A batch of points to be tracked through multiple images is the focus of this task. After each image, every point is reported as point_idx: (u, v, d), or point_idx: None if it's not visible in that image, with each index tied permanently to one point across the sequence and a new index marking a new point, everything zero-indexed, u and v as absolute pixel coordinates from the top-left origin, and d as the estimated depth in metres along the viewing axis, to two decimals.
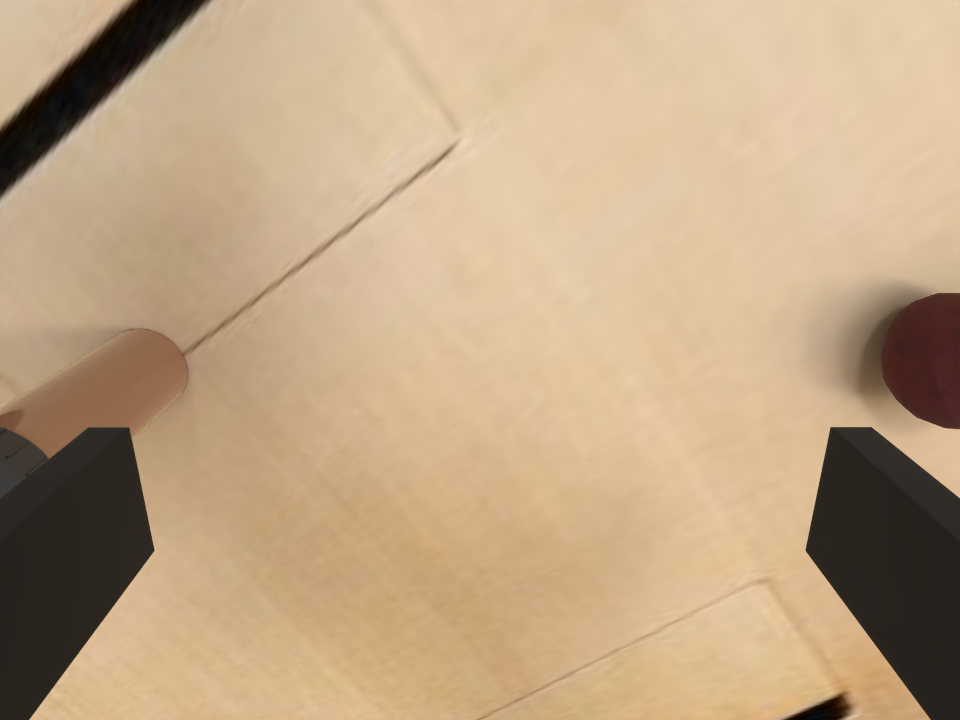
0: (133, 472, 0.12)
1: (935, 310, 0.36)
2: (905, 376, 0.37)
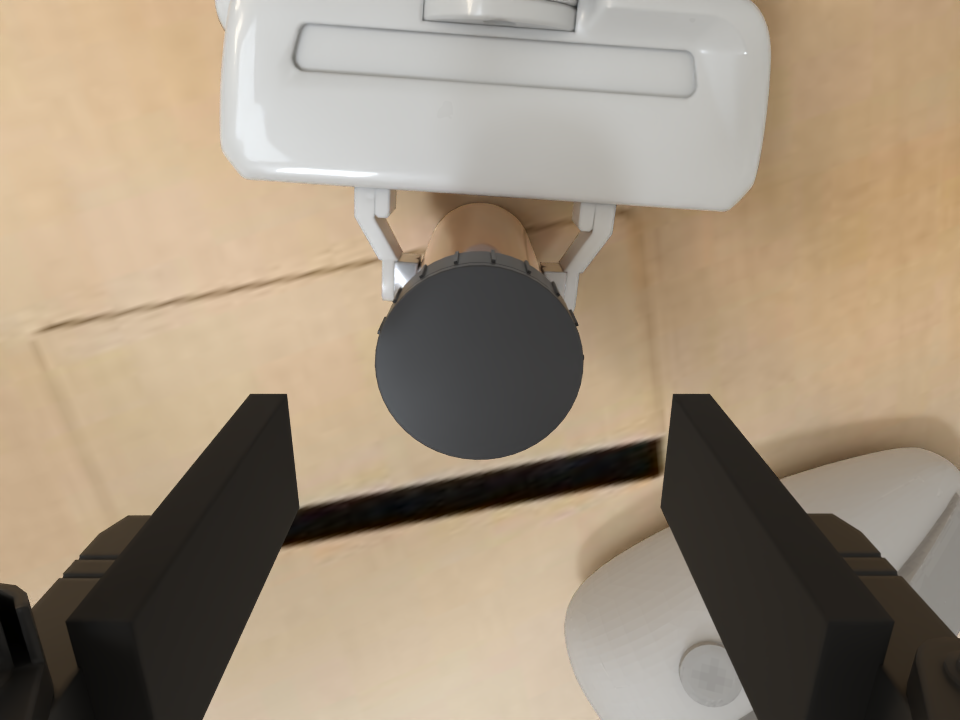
0: (288, 434, 0.14)
1: None
2: None
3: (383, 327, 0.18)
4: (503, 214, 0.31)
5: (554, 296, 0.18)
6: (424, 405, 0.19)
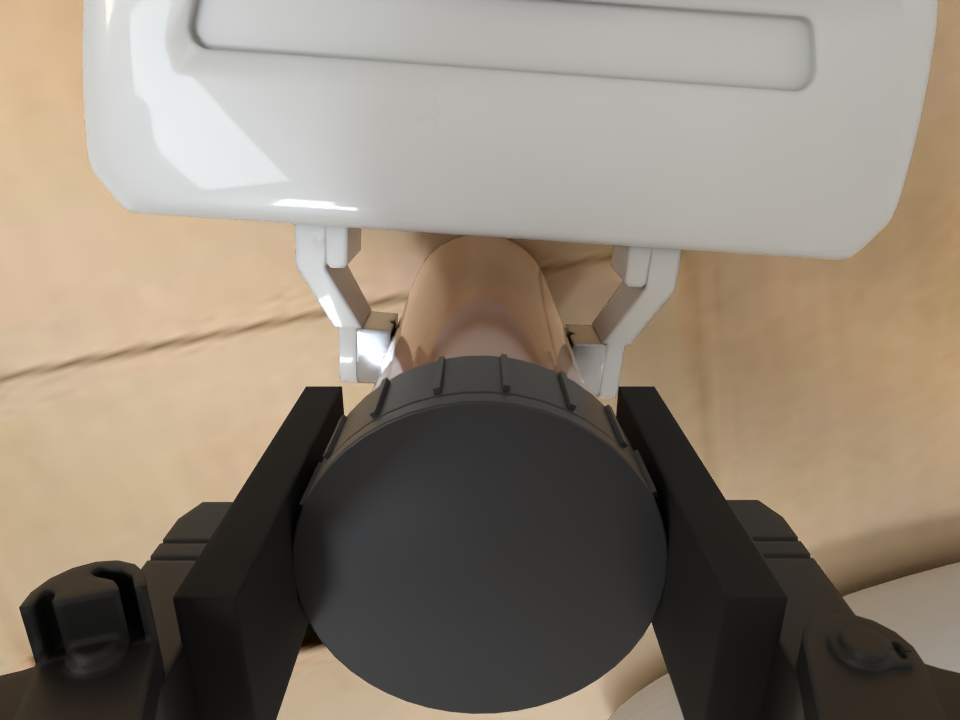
0: None
1: None
2: None
3: (304, 507, 0.10)
4: (512, 253, 0.22)
5: (620, 455, 0.10)
6: (383, 632, 0.11)
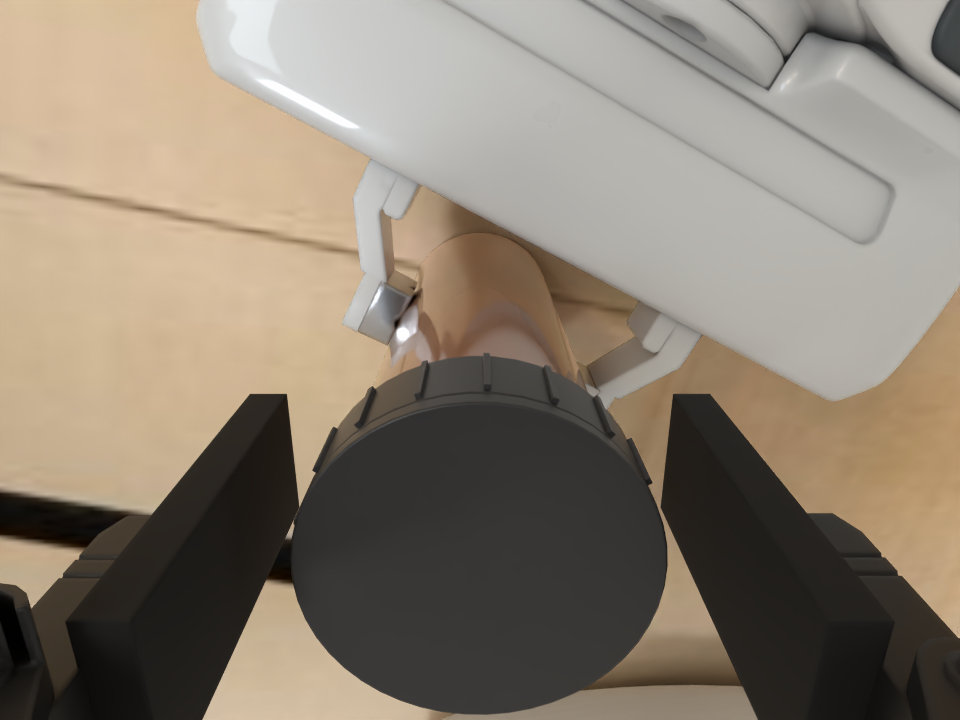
0: (288, 434, 0.14)
1: None
2: None
3: (347, 667, 0.11)
4: (536, 270, 0.23)
5: (406, 415, 0.09)
6: (502, 670, 0.11)
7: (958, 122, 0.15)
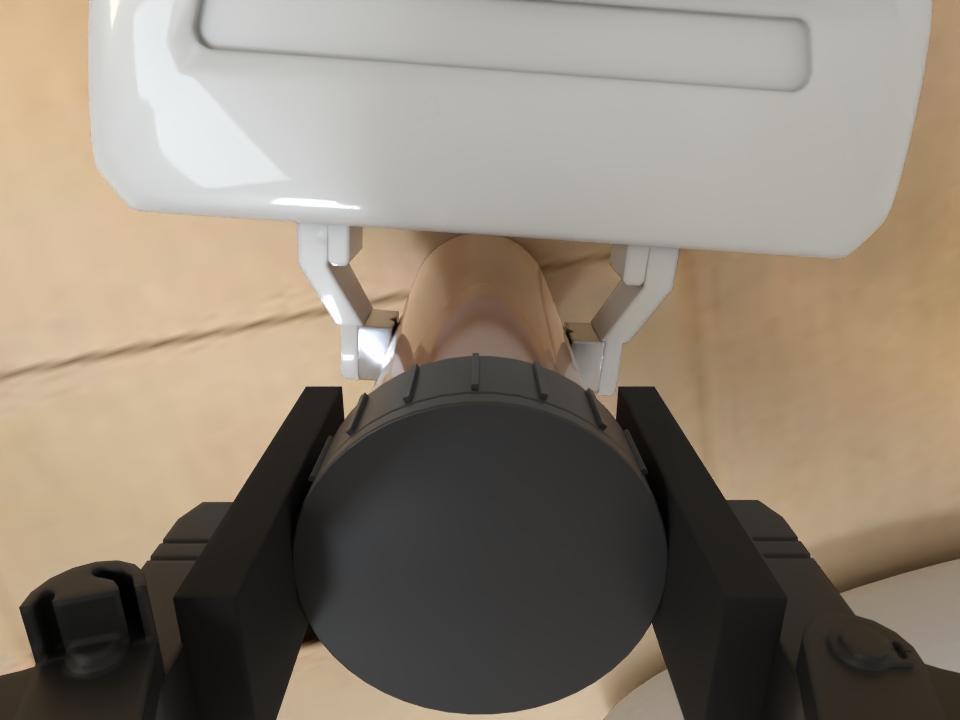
0: None
1: None
2: None
3: (407, 700, 0.11)
4: (512, 251, 0.22)
5: (339, 455, 0.10)
6: (548, 654, 0.11)
7: None
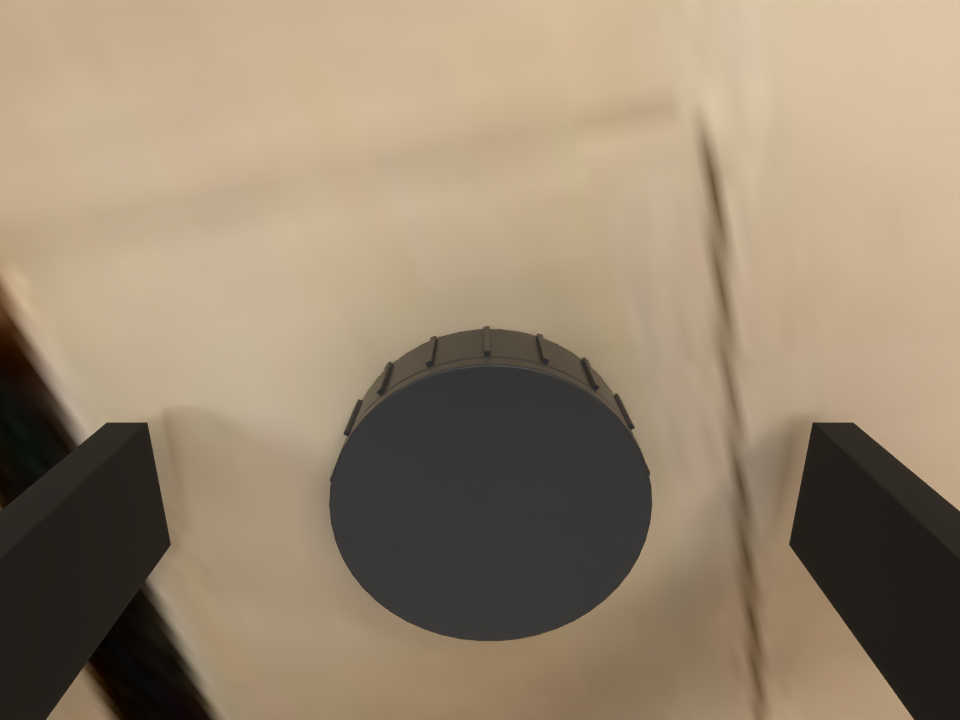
0: (151, 466, 0.13)
1: None
2: None
3: (426, 628, 0.13)
4: None
5: (372, 410, 0.11)
6: (549, 587, 0.13)
7: None
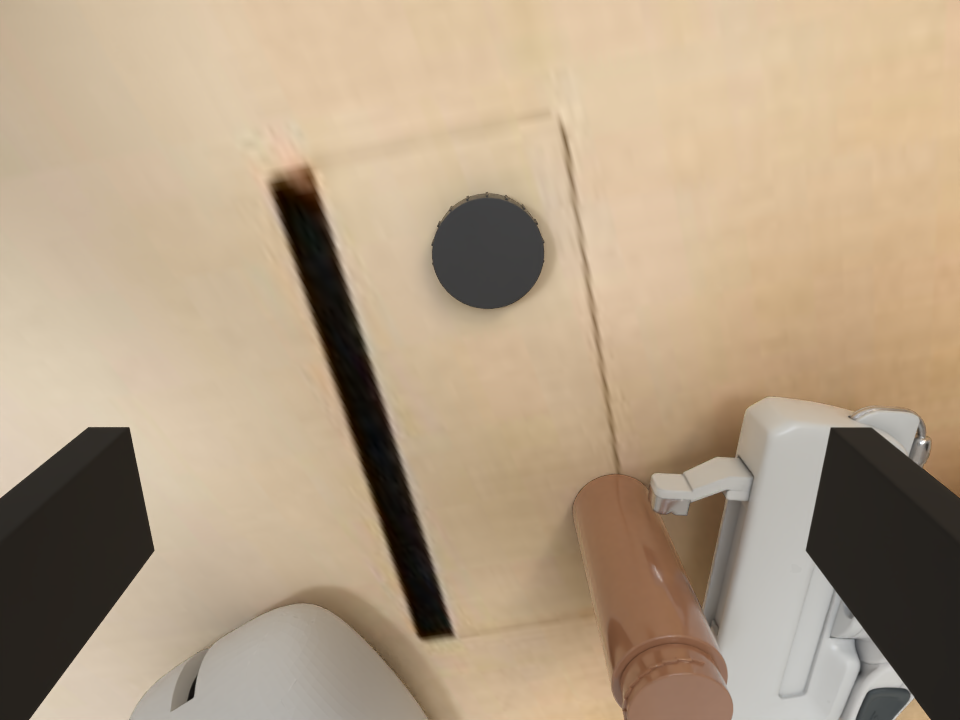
0: (133, 472, 0.12)
1: None
2: None
3: (464, 303, 0.36)
4: None
5: (448, 214, 0.34)
6: (509, 284, 0.35)
7: (843, 706, 0.37)
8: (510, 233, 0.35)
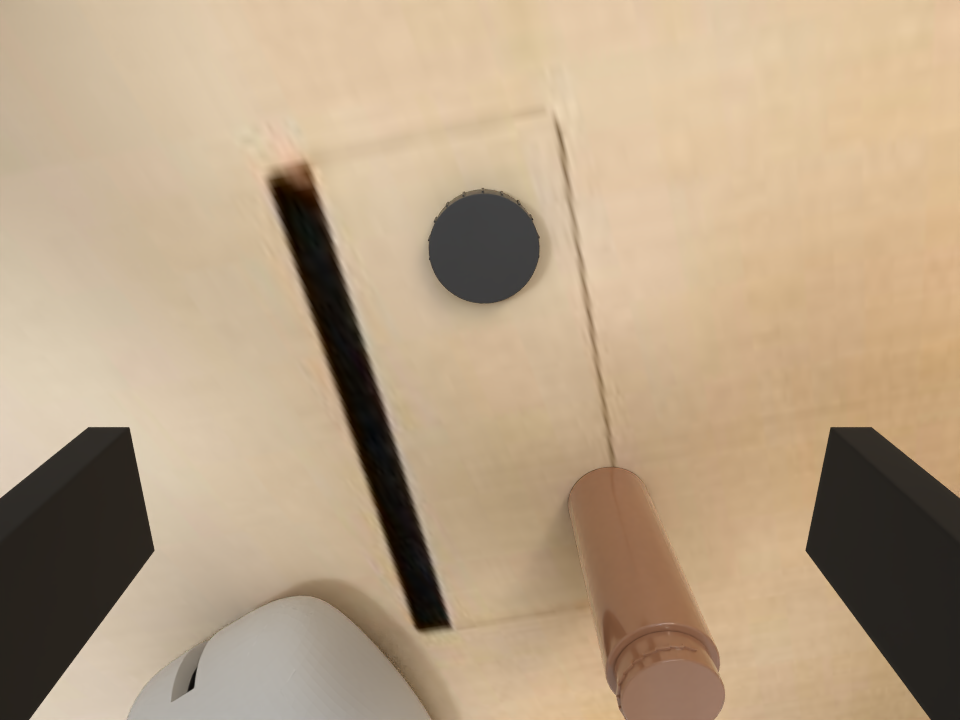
0: (133, 472, 0.12)
1: None
2: None
3: (461, 297, 0.36)
4: None
5: (445, 210, 0.35)
6: (504, 279, 0.36)
7: None
8: (506, 228, 0.35)
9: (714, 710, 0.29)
